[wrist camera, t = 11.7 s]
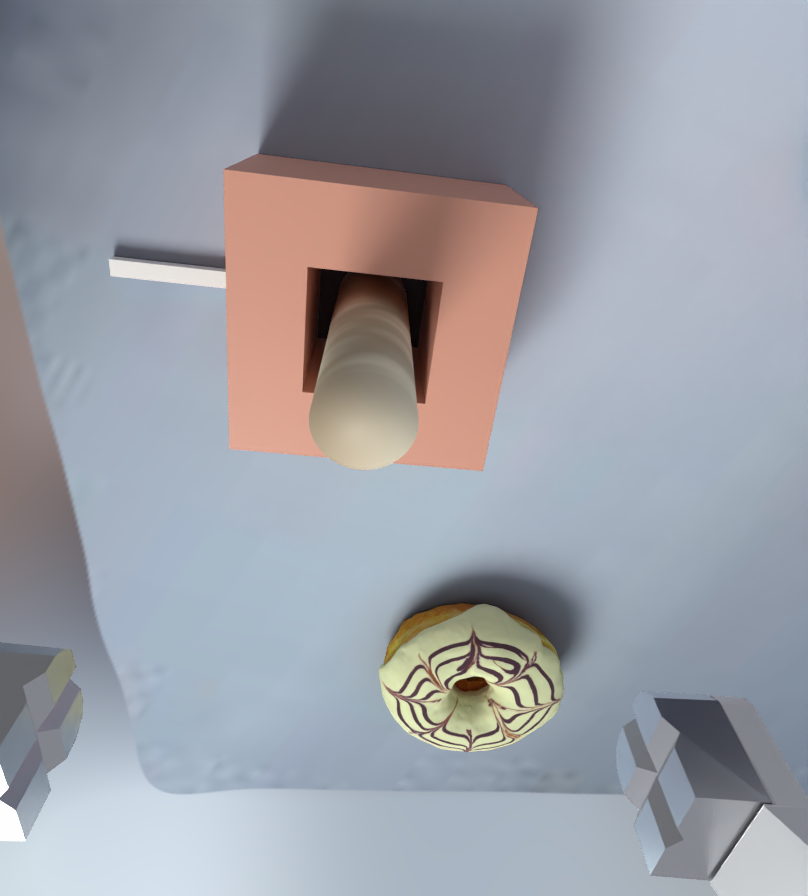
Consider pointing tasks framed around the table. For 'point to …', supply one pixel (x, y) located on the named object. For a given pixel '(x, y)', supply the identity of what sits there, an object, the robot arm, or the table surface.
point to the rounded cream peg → (366, 376)
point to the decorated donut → (470, 699)
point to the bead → (381, 253)
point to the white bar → (167, 272)
